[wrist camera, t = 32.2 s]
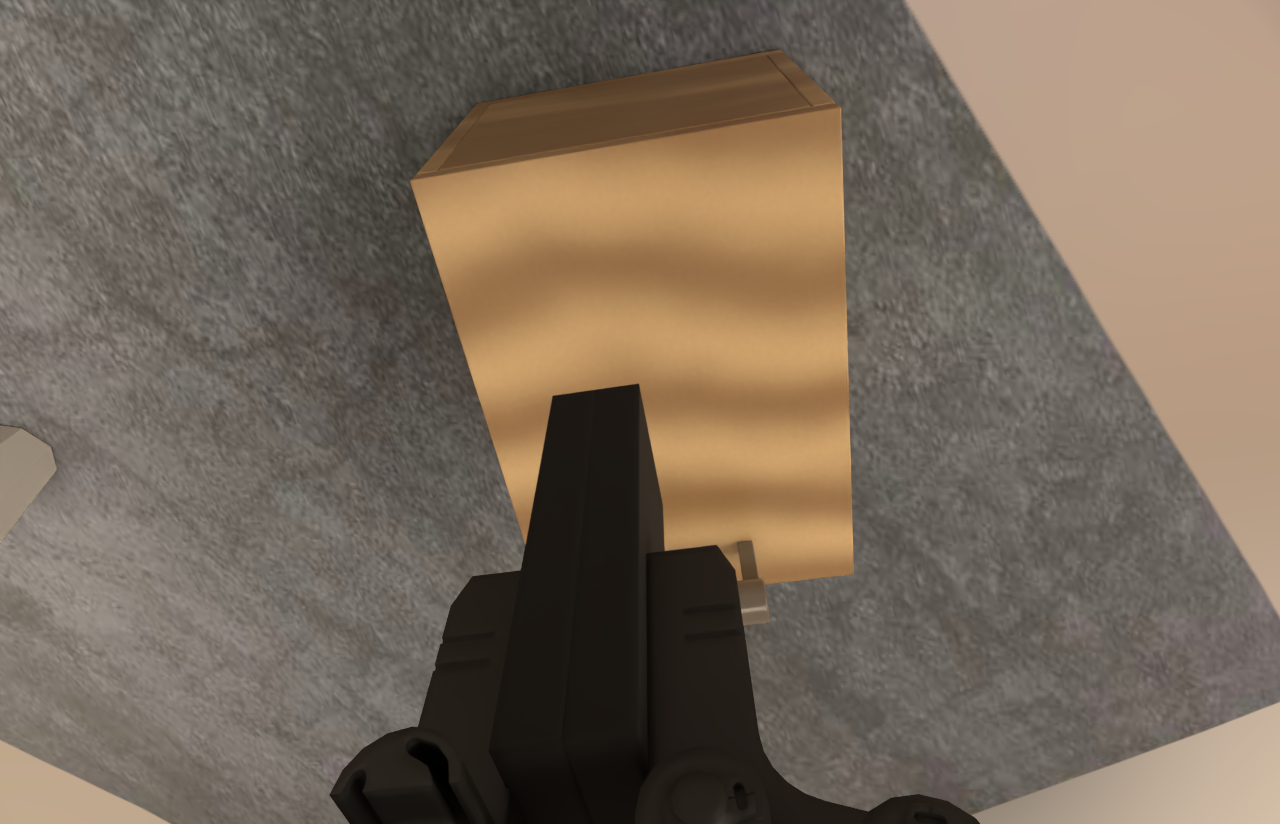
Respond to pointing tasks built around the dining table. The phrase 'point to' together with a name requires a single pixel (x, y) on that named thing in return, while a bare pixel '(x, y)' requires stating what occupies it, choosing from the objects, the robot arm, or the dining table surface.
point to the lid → (672, 323)
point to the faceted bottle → (21, 473)
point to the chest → (628, 109)
